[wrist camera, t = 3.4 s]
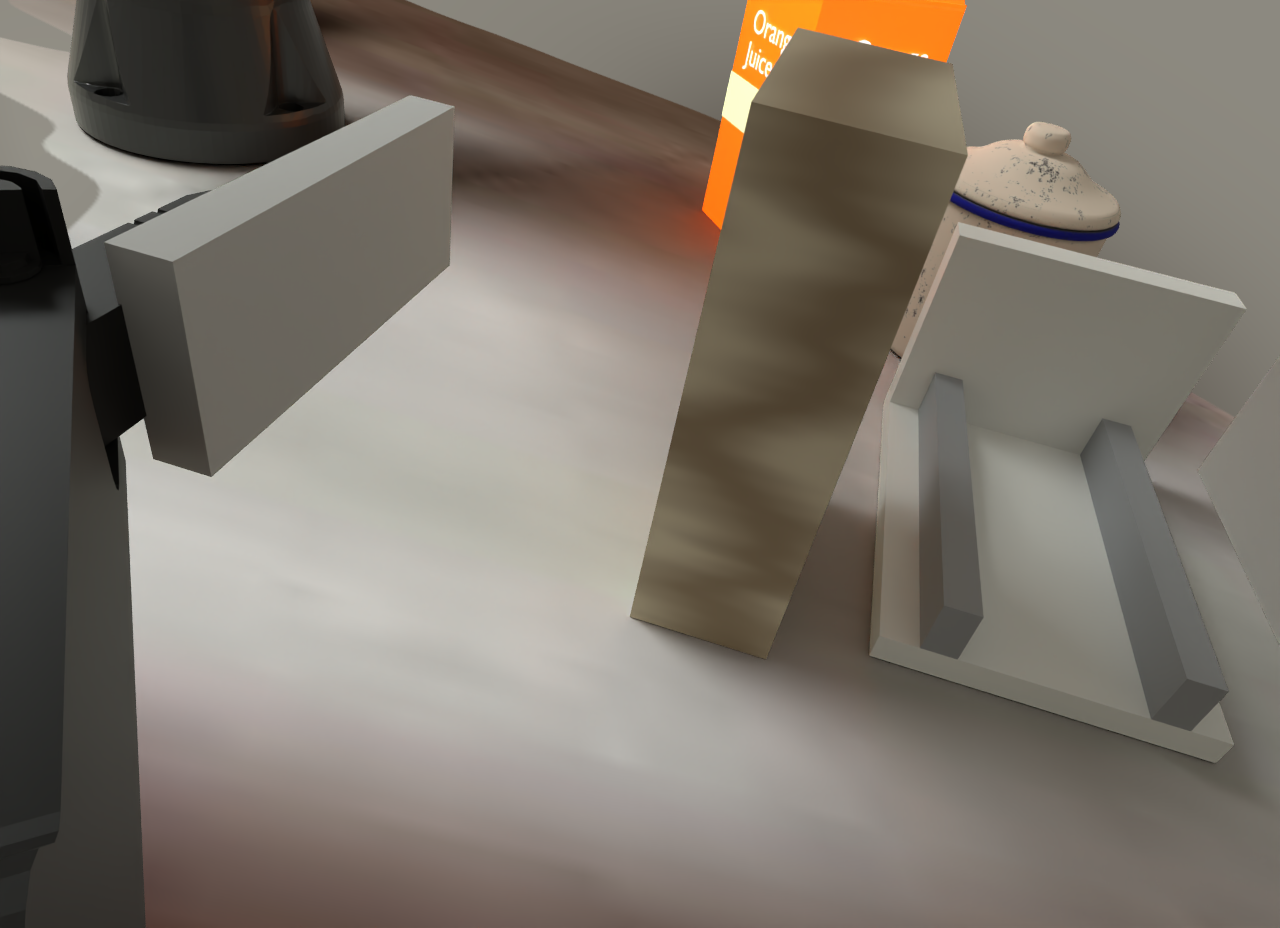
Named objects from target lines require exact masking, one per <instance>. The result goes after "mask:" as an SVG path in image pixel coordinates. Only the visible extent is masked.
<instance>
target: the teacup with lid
mask: <svg viewBox="0 0 1280 928" xmlns="http://www.w3.org/2000/svg"><path fill="white" fill-rule="evenodd" d="M1070 142H1071V134H1070V133H1069V131H1067V130H1066V129H1064V128H1062V127H1059V126H1057V125H1054V124H1049V123H1045V122H1035V123H1033V124H1031V125H1030V126H1029V127H1028V128H1027V130H1026V132H1025V134H1024V137H1023V140H1003V141H998V142H995V143H992V144H989V145H986V146H983V147H967V153H968V157H967V159H966V162H965V164H964V167H963V169H962V172H961V174H960V177H959V179H958V181H957V184H956V186H955V189H954V191H953V194H952V196H951V199H950V201H949V204H948V206H947V209H946V211H945V214H944V216H943V219H942V221H941V224H940V226H939V229H938V231H937V234H936V236H935V239H934V241H933V244H932V246H931V249H930V251H929V254H928V256H927V259H926V261H925V264H924V266H923V269H922V271H921V274H920V276H919V279H918V281H917V284H916V286H915V289H914V291H913V294H912V296H911V299H910V301H909V304H908V306H907V309H906V311H905V314H904V316H903V319H902V321H901V324H900V326H899V329H898V331H897V334H896V336H895V339H894V341H893V344H892V346H891V349H892V350H893V351H894V352H895V353H896V354H897V355H899V356H900V357H901V358H902V356H903V354H904V352H905V349H906V347H907V344H908V342H909V340H910V337H911V335H912V332H913V330H914V327H915V325H916V323H917V320H918V318H919V315H920V313H921V311H922V308H923V306H924V303H925V301H926V298H927V296H928V294H929V291H930V289H931V286H932V284H933V282H934V279H935V277H936V274H937V272H938V269H939V267H940V265H941V262H942V260H943V257H944V255H945V253H946V250H947V248H948V245H949V243H950V240H951V238H952V236H953V233H954V231H955V228H956V226H957V224H958V222H960V223H964V224H968V225H972V226H976V227H980V228H984V229H988V230H992V231H995V232H999V233H1003V234H1007V235H1011V236H1015V237H1019V238H1023V239H1027V240H1031V241H1034V242H1038V243H1042V244H1046V245H1050V246H1054V247H1058V248H1062V249H1066V250H1070V251H1073V252H1077V253H1081V254H1085V255H1089V256H1093V257H1097V256H1098V254H1099V252H1100V250H1101V248H1102V247H1103V245H1104V243H1105V241H1106V239H1107V238H1109V237H1111V236H1113V235H1114V234H1115V233H1116V232H1117V230H1118V228H1119V220H1120V217H1121V212H1120V207H1119V204H1118V202H1117V201H1116V199H1115V198H1114V197H1113V196H1112V195H1111V194H1110V193H1109V192H1108V191H1107V190H1105V189H1104V188H1103V187H1101V186H1100V185H1098V184H1096V183H1095V182H1093V181H1092V180H1091V178H1090V177H1089V175H1088V174H1087V172H1086V171H1085V169H1084V168H1083V166H1082V165H1081V164H1080V163H1079V162H1078V161H1077V160H1076V159H1074V158H1073V157H1071V156H1070V155H1068V154H1066V153H1065V151H1066V150H1067V148H1068V146H1069V144H1070Z"/></svg>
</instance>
